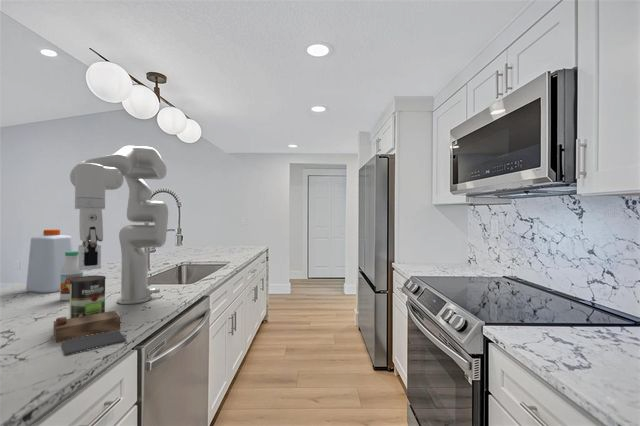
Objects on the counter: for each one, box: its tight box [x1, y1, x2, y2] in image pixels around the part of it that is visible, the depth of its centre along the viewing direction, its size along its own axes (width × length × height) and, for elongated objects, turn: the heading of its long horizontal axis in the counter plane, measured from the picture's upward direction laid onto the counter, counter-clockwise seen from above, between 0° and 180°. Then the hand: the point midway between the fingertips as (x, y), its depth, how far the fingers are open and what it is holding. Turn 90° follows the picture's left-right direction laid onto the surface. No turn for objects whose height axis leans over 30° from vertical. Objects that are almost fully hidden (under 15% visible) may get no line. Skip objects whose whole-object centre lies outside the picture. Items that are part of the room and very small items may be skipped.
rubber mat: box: [61, 330, 127, 357], centre depth 93 cm, size 14×9×1 cm, turn 133°
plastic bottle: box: [25, 228, 74, 294], centre depth 152 cm, size 15×15×28 cm
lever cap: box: [77, 242, 102, 271], centre depth 98 cm, size 5×5×8 cm
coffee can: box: [69, 275, 106, 319], centre depth 113 cm, size 10×10×14 cm
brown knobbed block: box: [53, 310, 121, 343], centre depth 101 cm, size 16×8×6 cm, turn 133°
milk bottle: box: [59, 250, 84, 301], centre depth 137 cm, size 8×8×20 cm
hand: (89, 263), depth 98 cm, fingers closed on lever cap, 5 cm apart
